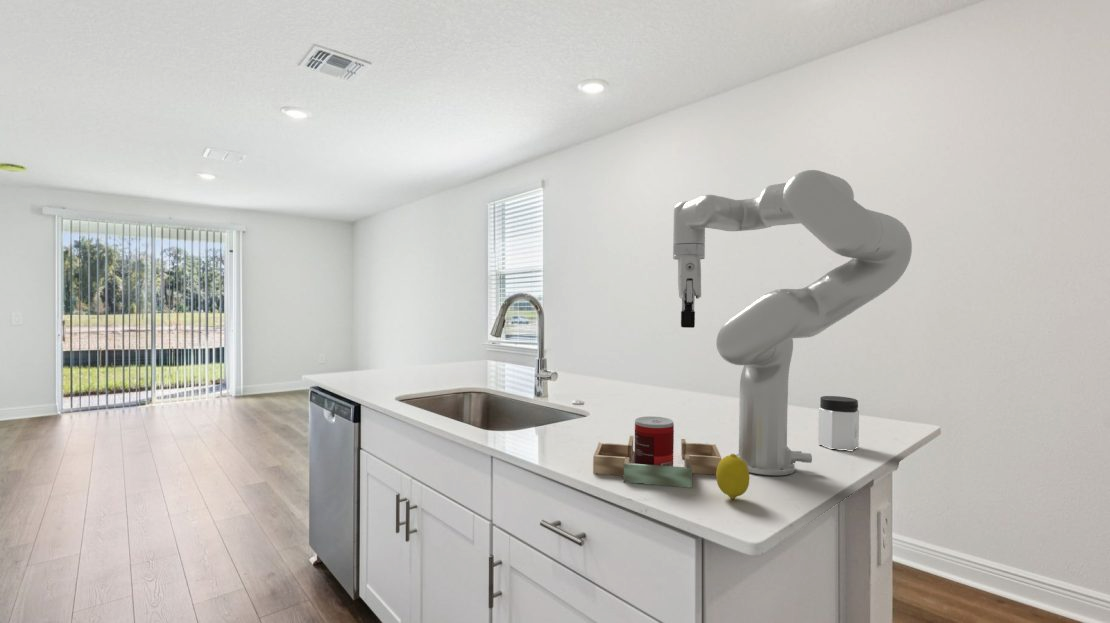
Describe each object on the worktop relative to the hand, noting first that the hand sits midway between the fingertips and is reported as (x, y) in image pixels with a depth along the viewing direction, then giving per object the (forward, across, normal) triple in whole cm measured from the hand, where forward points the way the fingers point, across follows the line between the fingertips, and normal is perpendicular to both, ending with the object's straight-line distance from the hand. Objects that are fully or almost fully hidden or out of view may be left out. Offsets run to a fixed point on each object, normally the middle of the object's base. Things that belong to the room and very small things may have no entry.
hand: (687, 327), depth 125 cm
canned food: (+29, -25, +8) cm, 39 cm away
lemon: (+29, -35, -6) cm, 46 cm away
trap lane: (+29, -19, +7) cm, 35 cm away
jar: (+29, +8, -37) cm, 48 cm away
